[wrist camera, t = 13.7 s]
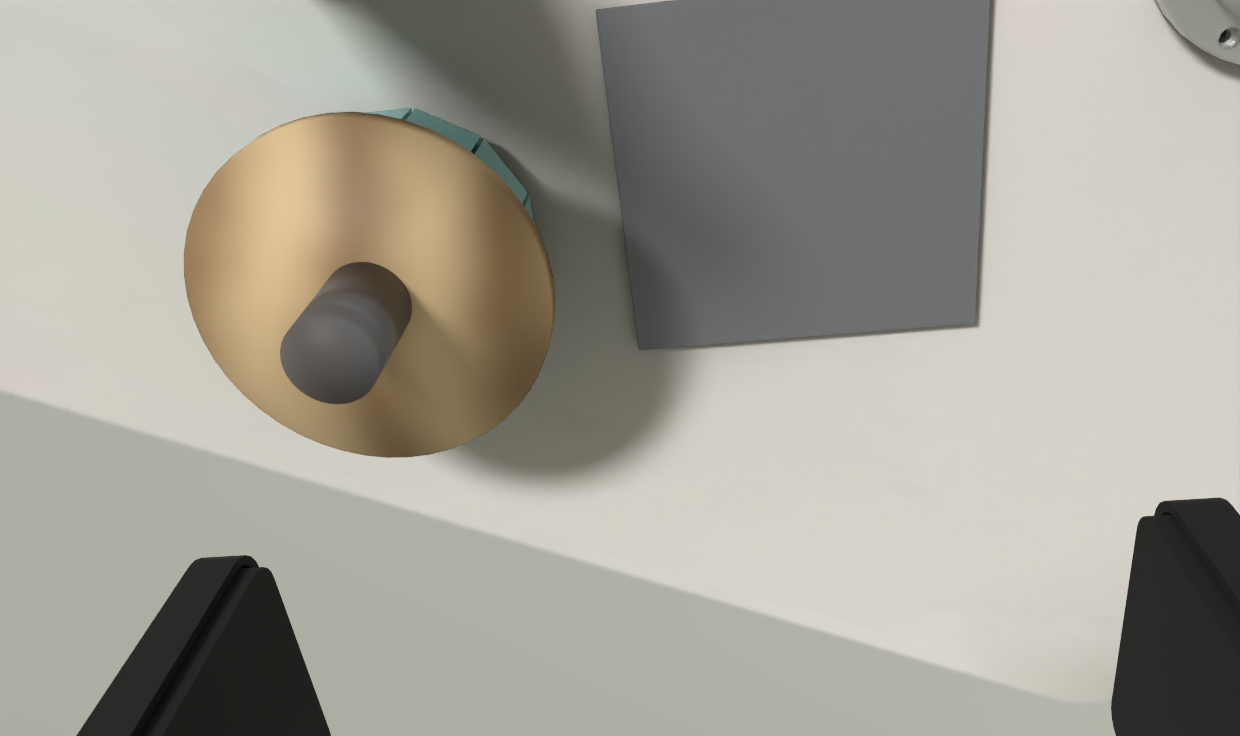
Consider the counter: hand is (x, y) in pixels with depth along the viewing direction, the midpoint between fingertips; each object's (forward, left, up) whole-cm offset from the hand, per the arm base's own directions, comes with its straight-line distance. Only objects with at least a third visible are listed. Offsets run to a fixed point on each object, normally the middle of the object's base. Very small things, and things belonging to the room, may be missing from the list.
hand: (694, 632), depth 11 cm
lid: (+14, +8, -29) cm, 33 cm away
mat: (-4, +7, -36) cm, 37 cm away
